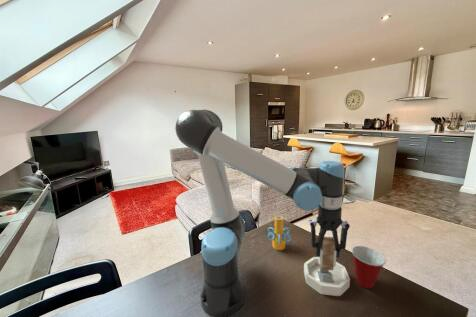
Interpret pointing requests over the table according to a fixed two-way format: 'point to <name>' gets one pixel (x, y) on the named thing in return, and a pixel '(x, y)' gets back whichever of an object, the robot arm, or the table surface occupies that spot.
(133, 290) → the table surface
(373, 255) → the plastic cup
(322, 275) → the white octagonal tray
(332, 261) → the long cardboard-colored beam
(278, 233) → the yellow blue ringed piece
